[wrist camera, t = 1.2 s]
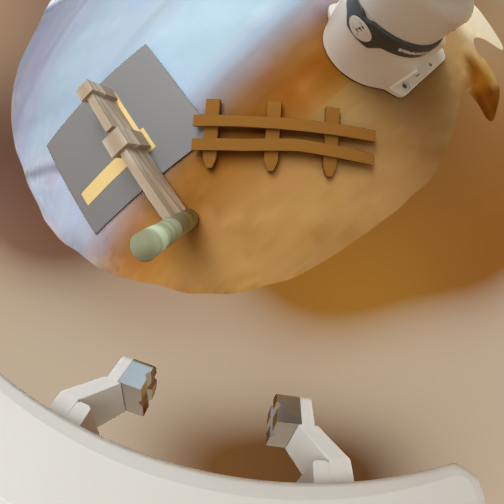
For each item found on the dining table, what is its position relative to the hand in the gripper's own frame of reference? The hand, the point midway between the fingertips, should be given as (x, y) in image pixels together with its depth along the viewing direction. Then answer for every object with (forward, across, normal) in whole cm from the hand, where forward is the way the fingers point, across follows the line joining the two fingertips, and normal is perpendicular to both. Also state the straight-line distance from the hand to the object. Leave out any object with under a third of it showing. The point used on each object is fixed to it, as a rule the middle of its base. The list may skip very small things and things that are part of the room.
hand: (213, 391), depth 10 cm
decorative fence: (+31, -1, -14) cm, 34 cm away
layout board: (+31, +25, -11) cm, 42 cm away
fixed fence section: (+31, +25, -15) cm, 42 cm away
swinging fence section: (+31, +15, -5) cm, 34 cm away
